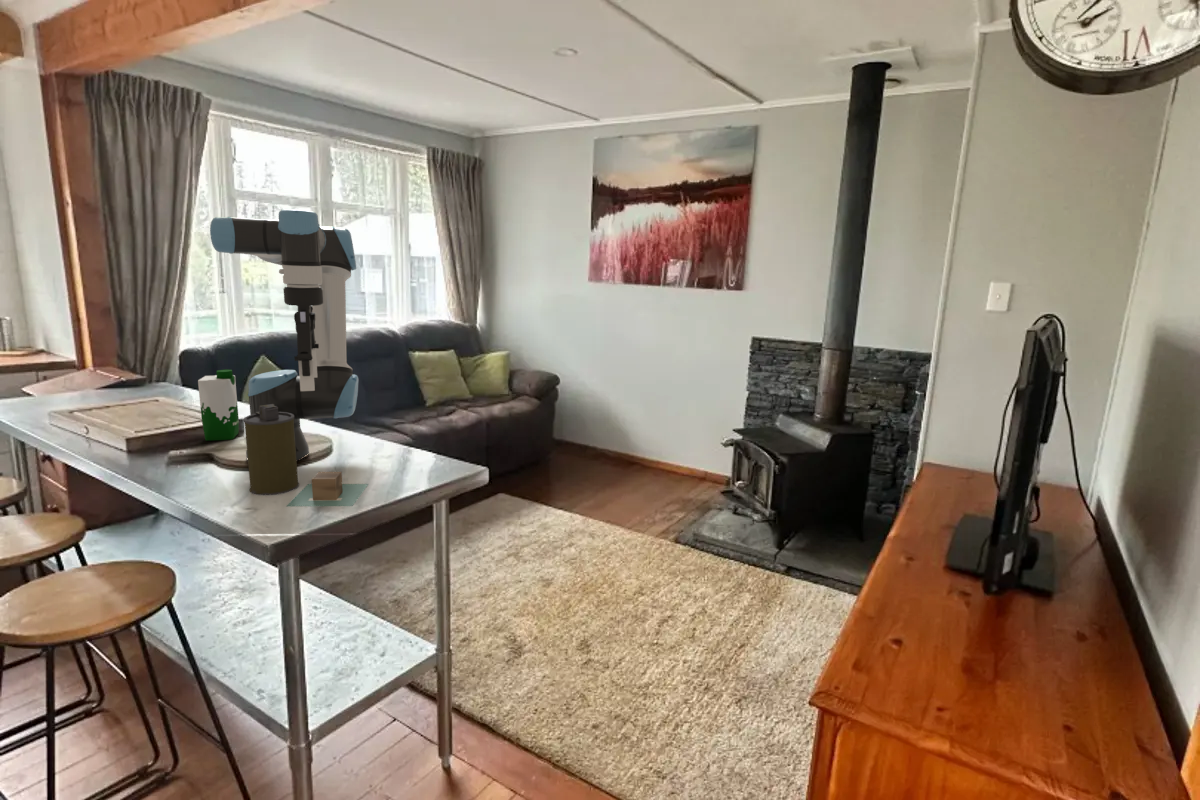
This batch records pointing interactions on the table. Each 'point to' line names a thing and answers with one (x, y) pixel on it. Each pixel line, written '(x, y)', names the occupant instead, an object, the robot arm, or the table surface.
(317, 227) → the robot arm
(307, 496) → the letter card
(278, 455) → the canister
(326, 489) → the block
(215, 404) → the milk carton
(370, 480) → the table surface
